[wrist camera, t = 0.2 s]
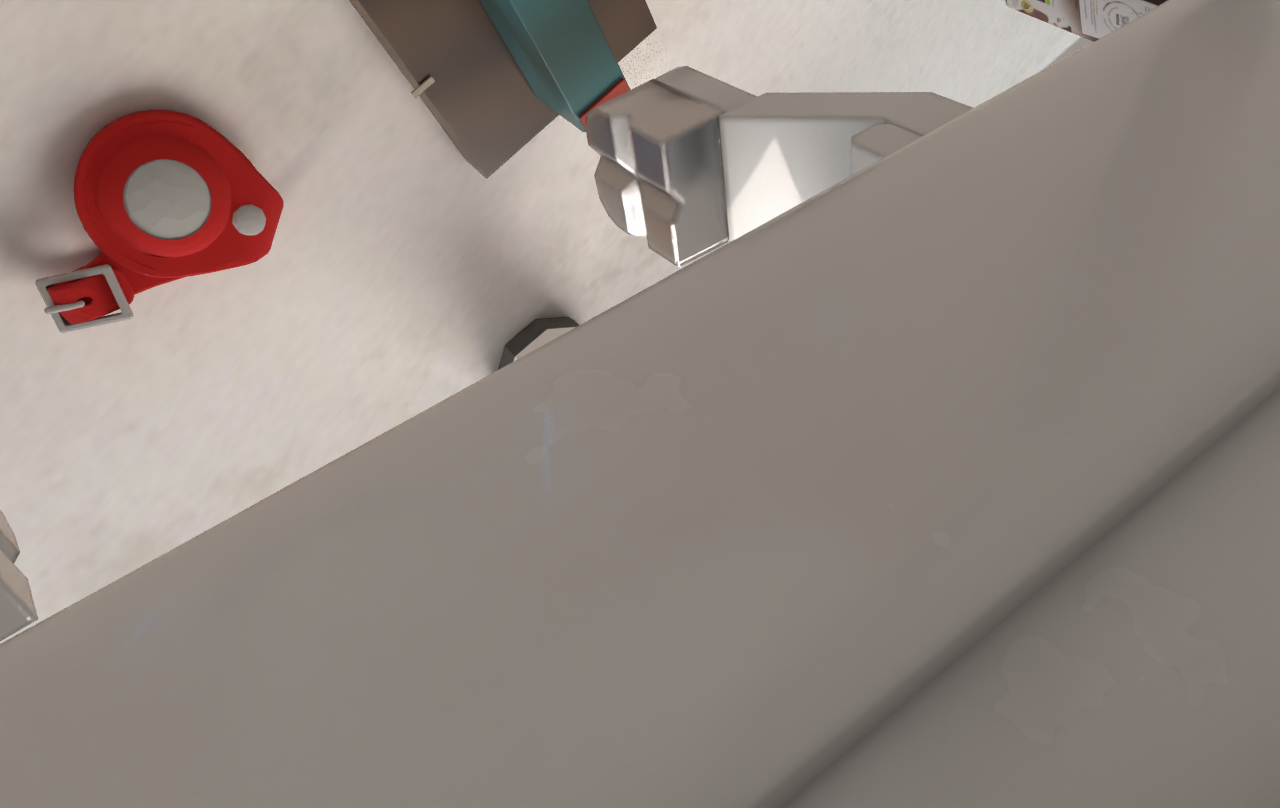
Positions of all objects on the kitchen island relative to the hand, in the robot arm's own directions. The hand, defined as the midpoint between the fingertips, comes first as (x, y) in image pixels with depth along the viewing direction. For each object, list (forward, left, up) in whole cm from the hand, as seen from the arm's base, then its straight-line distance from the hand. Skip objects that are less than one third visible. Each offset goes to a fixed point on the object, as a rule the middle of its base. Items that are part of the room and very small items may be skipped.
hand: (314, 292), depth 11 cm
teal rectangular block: (+16, +22, -36) cm, 46 cm away
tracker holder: (+20, 0, -39) cm, 44 cm away
